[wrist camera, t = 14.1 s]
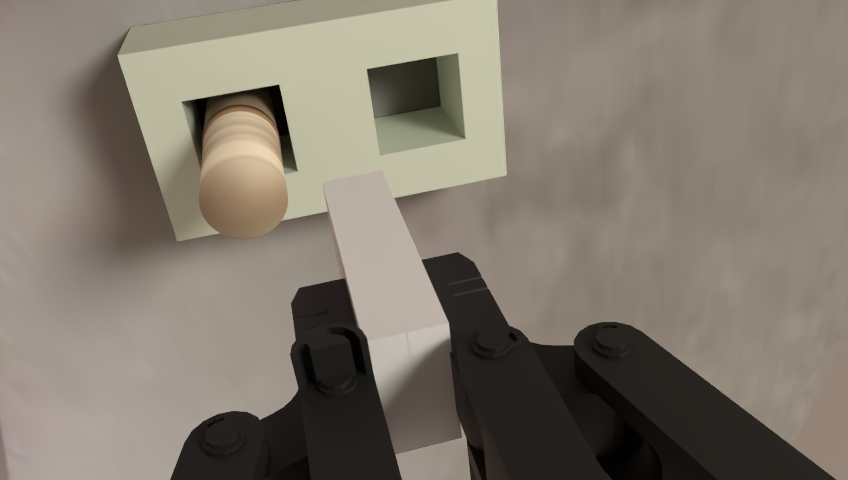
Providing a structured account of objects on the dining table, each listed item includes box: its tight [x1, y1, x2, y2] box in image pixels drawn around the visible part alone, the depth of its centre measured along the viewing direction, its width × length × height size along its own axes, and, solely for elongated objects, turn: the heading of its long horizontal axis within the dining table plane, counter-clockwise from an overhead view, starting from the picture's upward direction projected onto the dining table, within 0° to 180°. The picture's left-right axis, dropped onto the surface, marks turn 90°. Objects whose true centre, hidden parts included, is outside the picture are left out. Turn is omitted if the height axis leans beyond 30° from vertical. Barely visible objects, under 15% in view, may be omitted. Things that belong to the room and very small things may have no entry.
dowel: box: [199, 87, 288, 239], centre depth 40 cm, size 4×4×14 cm
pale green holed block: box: [117, 0, 507, 242], centre depth 44 cm, size 11×20×6 cm, turn 97°
